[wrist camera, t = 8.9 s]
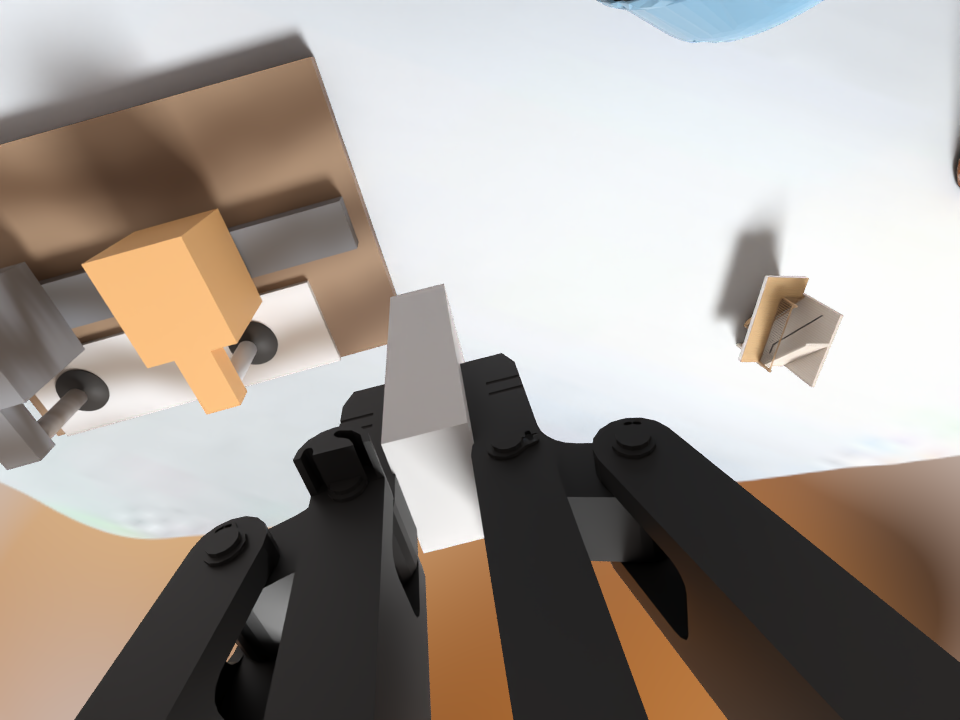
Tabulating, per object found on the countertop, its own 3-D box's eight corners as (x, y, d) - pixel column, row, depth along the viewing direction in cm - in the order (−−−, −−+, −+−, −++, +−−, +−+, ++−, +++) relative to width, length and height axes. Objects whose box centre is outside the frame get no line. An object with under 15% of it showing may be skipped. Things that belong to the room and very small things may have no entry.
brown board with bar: (-118, 179, 32) (-298, 218, 24) (314, 57, 32) (283, 53, 23) (69, 424, 40) (-16, 514, 32) (408, 329, 40) (409, 395, 32)
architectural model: (715, 342, 45) (768, 389, 38) (740, 260, 42) (802, 297, 35) (754, 343, 45) (812, 389, 39) (781, 261, 42) (850, 298, 35)
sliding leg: (138, 229, 32) (81, 264, 26) (220, 206, 32) (180, 236, 26) (215, 366, 37) (181, 421, 31) (287, 346, 37) (266, 397, 31)
